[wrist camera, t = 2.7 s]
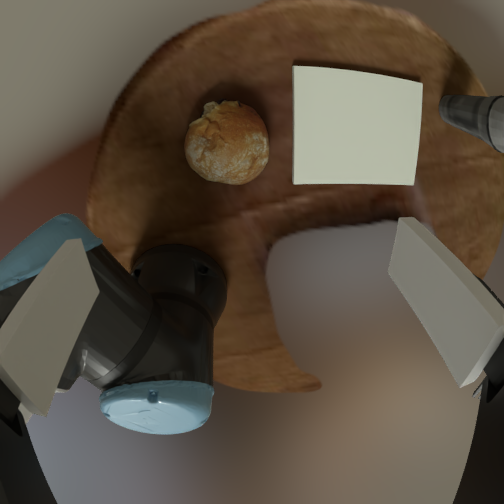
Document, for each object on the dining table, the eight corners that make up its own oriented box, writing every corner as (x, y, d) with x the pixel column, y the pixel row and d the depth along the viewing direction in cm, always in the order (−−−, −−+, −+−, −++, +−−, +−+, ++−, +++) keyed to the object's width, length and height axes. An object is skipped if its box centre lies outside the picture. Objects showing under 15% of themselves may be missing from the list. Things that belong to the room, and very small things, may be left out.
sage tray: (292, 181, 38) (293, 184, 37) (292, 66, 30) (293, 65, 29) (410, 182, 39) (413, 185, 38) (418, 83, 31) (422, 83, 30)
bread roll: (189, 157, 39) (180, 198, 34) (189, 90, 30) (176, 124, 26) (261, 162, 40) (263, 204, 35) (274, 96, 31) (280, 132, 27)
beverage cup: (467, 130, 34) (565, 172, 17) (434, 135, 35) (538, 182, 18) (462, 85, 31) (566, 110, 13) (428, 87, 31) (539, 110, 14)
